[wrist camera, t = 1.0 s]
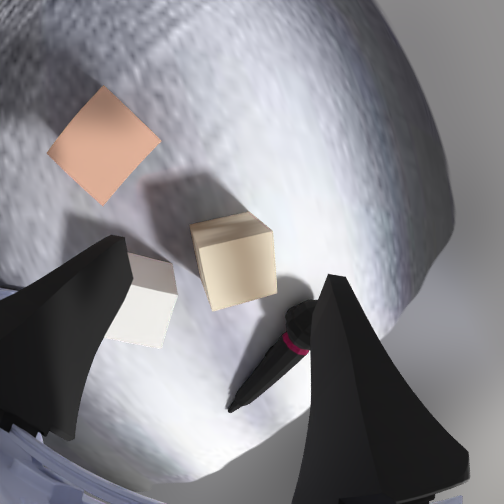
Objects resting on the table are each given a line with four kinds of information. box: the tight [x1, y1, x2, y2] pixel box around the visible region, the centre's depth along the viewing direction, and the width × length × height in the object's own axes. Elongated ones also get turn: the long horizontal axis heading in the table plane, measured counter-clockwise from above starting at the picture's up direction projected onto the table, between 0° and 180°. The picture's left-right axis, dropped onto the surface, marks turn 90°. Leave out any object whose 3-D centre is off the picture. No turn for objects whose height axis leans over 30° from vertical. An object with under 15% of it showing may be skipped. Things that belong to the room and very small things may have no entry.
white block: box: [104, 252, 178, 349], centre depth 20 cm, size 5×5×5 cm
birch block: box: [189, 212, 277, 312], centre depth 21 cm, size 5×5×5 cm
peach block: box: [47, 85, 161, 206], centre depth 15 cm, size 5×5×5 cm
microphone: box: [228, 300, 318, 413], centre depth 29 cm, size 6×6×20 cm
